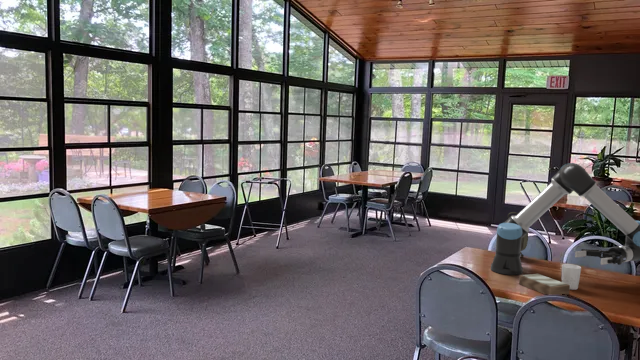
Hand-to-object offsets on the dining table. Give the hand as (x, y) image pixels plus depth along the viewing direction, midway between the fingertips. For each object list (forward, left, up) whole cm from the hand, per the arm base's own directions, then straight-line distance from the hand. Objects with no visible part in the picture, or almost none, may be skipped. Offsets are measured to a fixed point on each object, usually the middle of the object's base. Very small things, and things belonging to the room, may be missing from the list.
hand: (588, 258), depth 239 cm
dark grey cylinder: (-53, +6, -13) cm, 55 cm away
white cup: (0, -10, -13) cm, 17 cm away
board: (-2, -24, -13) cm, 27 cm away
